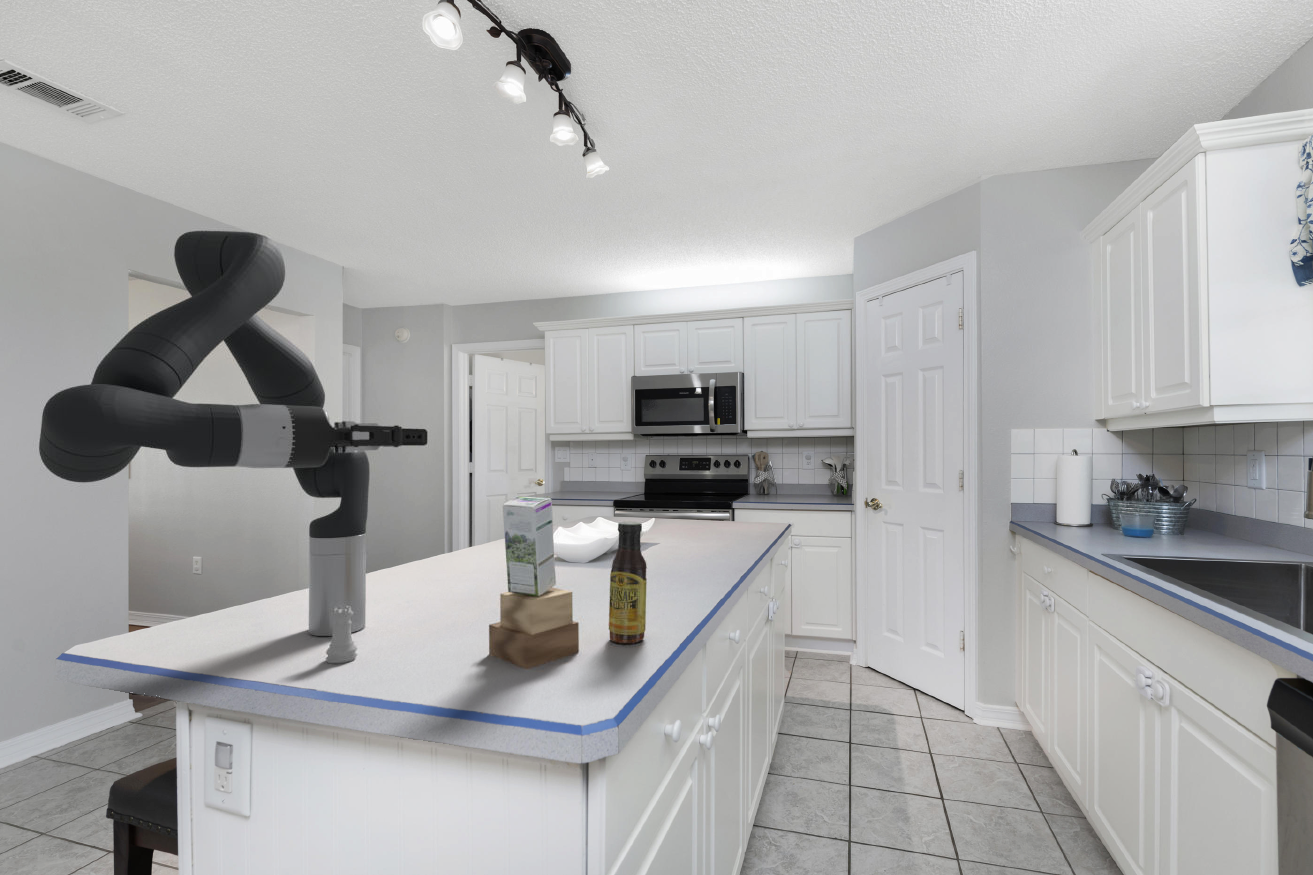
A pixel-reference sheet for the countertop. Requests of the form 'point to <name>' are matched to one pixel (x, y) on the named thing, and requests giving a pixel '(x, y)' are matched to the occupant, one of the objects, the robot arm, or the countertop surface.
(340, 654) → the rook chess piece
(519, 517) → the syrup box
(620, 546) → the sauce bottle
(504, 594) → the upper block
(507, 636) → the lower block
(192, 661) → the countertop surface
